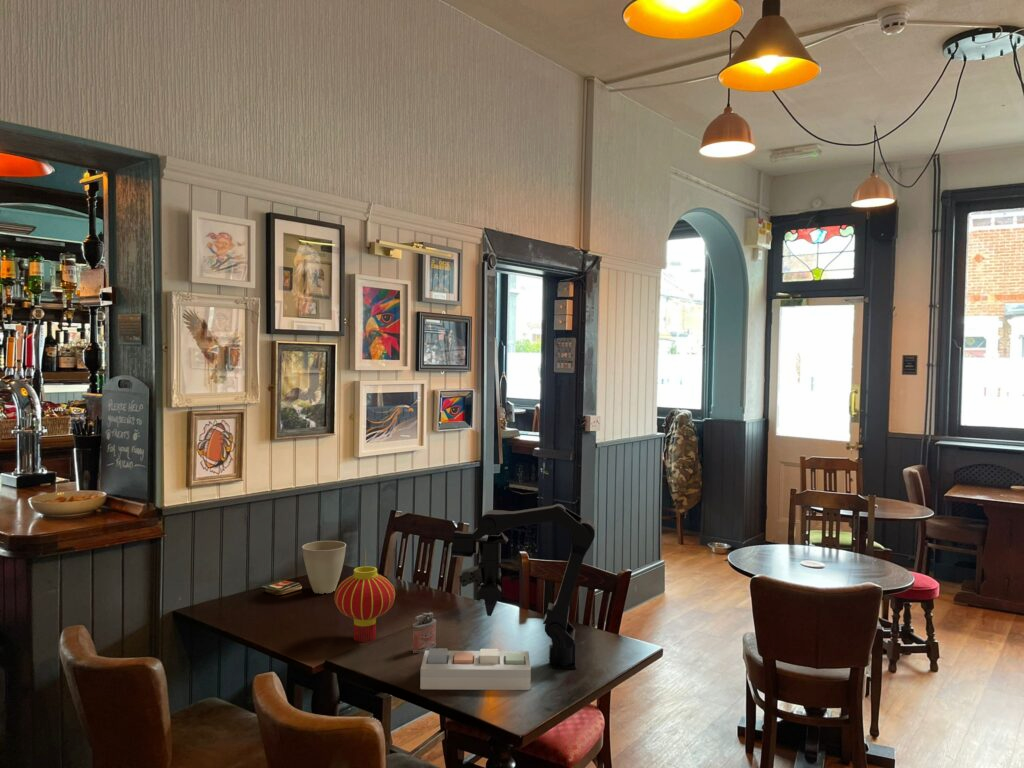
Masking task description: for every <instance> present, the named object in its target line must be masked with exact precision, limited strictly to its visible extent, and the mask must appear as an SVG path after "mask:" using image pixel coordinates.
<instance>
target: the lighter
mask: <svg viewBox="0 0 1024 768" xmlns="http://www.w3.org/2000/svg"><path fill="white" fill-rule="evenodd" d="M433 617H434V613H433V612H428V613H427V612H423V613H422V614H420V615H417V616H415V618H414V619H415V620H414V622H416V623H413V624H412V629H413V630H412V634H413V635H412V636H413V637H412V638H413V639H412V649H411V650H412V651H413V652H414V653H420V654H422V653H421V652H423V653H425V650H429V649H430V648H434V647H435V648H436V647H437V643H436V638H437V637H436V627H437V625H436V624H437V619H435V618H433ZM414 653H413V654H414Z"/></svg>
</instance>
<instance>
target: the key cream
mask: <svg viewBox="0 0 1024 768" xmlns="http://www.w3.org/2000/svg"><path fill="white" fill-rule="evenodd" d="M479 651H480V664H498V651H499V648H480V650H479Z"/></svg>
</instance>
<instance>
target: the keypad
mask: <svg viewBox="0 0 1024 768" xmlns="http://www.w3.org/2000/svg"><path fill="white" fill-rule="evenodd" d="M423 653H424V654H423V657H422V661H421V662H422V663H421V666H420V680H419V681H420V686H419V687H420V690H460V691H461V690H469V691H470V690H476V691H477V690H478V691H479V690H480V691H484V690H485V691H487V690H489V691H494V690H495V691H509V690H510V691H531V681H532V680H531V674H532V673H531V671H532V670H531V668H532V667H531V663H530V662H531V661H530V652H529V651H527V650H522V651H520V650H517V651H516V650H515V651H514V650H512V651H510V650H498V664H480V650H448V657H447V664H428V653H429V650H425V652H423ZM455 653H473V664H454V656H455ZM506 653H524V665H506Z"/></svg>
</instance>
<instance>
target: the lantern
mask: <svg viewBox="0 0 1024 768" xmlns="http://www.w3.org/2000/svg"><path fill="white" fill-rule="evenodd" d="M364 554H365V556H364V557H365V559H364V561H365V565H364V566H358V567H355V568H354V569H353V573H352V575H350V576H348V577H346V578H345V579H344V580H342V581H341V583H340V584H339V585H337V586H338V587H337V588H336V589H335V593H334V603H335V605H336V607H337V609H338V610H339V611H340V613H341V614H343V615H344V616H346V617H348V618H350V619H353V640H354V641H356V642H359V643H366V642H372V641H374V640H375V639H376V637H377V635H376V634H377V618H378V617H381V616H383V615H384V614H386V613H387V612H389V610H390V609H391V608H392V607H393V605H394V602H395V599H396V598H395V597H396V590H395V586H394V585H393V584H392V583H391V582H390V581H389V579H388V578H386V577H385V576H383V575H381V574H379V573H378V569H377V567H375V566H367V550H365V553H364Z"/></svg>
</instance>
